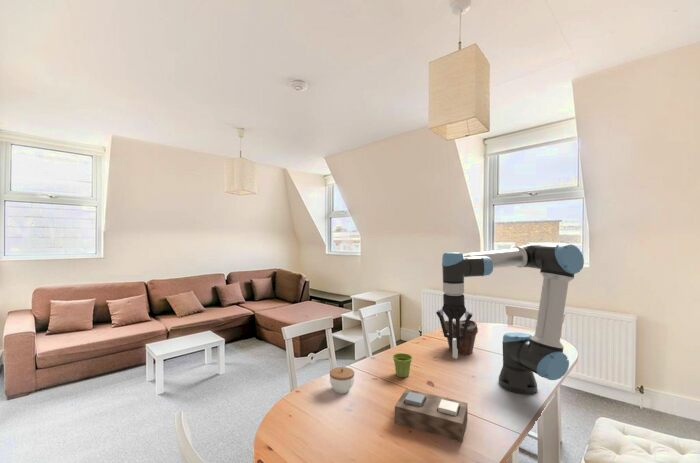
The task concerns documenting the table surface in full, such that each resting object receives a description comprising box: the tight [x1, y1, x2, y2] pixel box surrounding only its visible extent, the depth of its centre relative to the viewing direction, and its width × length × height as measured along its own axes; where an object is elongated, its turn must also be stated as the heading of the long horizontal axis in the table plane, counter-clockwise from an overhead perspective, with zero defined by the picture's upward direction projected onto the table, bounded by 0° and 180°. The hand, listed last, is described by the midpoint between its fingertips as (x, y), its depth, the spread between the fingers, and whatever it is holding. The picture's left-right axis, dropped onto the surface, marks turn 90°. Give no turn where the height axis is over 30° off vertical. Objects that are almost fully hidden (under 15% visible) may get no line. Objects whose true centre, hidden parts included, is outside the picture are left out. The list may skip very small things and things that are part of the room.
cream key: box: [438, 399, 459, 416], centre depth 109 cm, size 6×6×4 cm
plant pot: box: [392, 352, 413, 379], centre depth 149 cm, size 9×9×9 cm
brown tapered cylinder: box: [445, 319, 479, 356], centre depth 180 cm, size 18×20×18 cm
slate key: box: [405, 392, 425, 407], centre depth 114 cm, size 6×6×4 cm
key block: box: [394, 388, 469, 443], centre depth 112 cm, size 23×14×6 cm, turn 63°
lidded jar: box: [329, 366, 355, 395], centre depth 134 cm, size 11×11×9 cm
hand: (455, 356), depth 115 cm, fingers closed
